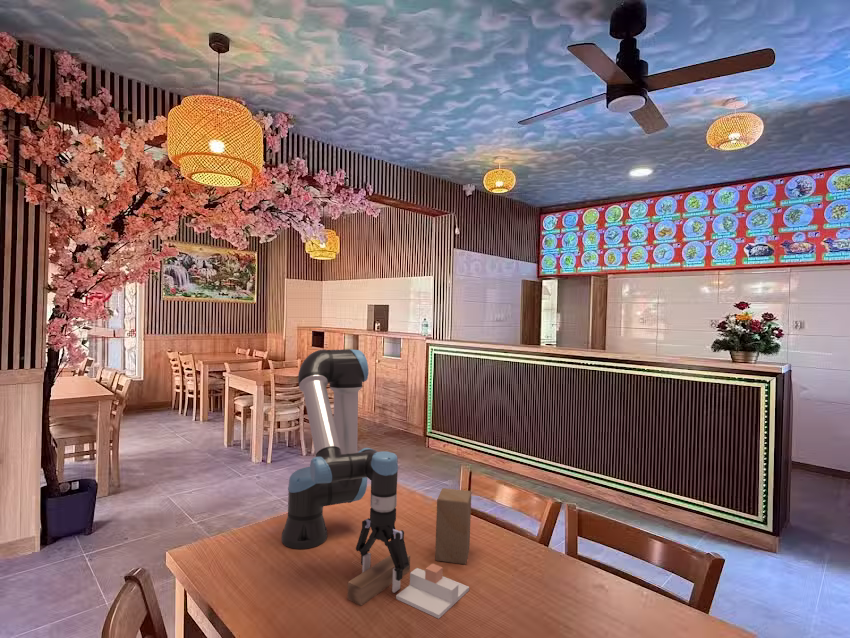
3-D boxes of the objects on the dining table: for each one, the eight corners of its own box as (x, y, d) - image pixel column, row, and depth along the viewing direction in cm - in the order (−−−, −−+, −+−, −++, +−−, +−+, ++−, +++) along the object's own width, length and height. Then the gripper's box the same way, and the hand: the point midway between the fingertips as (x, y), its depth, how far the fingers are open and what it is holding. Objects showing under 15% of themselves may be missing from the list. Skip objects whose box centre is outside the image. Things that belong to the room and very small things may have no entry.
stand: (396, 598, 132) (396, 571, 132) (428, 573, 145) (429, 549, 145) (438, 618, 124) (439, 590, 124) (469, 590, 137) (470, 564, 137)
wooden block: (466, 565, 150) (468, 502, 150) (434, 560, 152) (436, 498, 152) (469, 550, 160) (471, 490, 160) (440, 546, 162) (442, 487, 162)
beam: (347, 600, 131) (347, 581, 131) (396, 566, 149) (397, 550, 149) (361, 606, 128) (361, 588, 128) (409, 571, 146) (410, 555, 146)
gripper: (345, 501, 142) (342, 575, 142) (407, 523, 129) (404, 604, 129) (362, 493, 148) (359, 564, 148) (423, 513, 135) (420, 591, 135)
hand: (380, 583), depth 139 cm, fingers open, 11 cm apart
